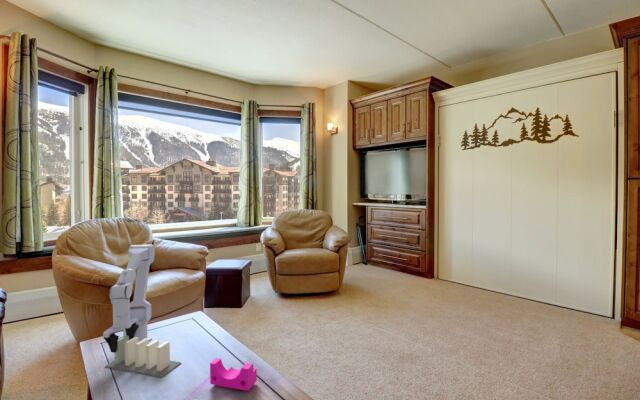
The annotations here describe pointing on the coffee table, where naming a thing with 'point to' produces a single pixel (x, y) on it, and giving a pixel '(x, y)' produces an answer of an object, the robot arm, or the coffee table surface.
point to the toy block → (232, 375)
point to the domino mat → (144, 368)
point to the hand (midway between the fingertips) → (122, 347)
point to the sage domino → (121, 349)
